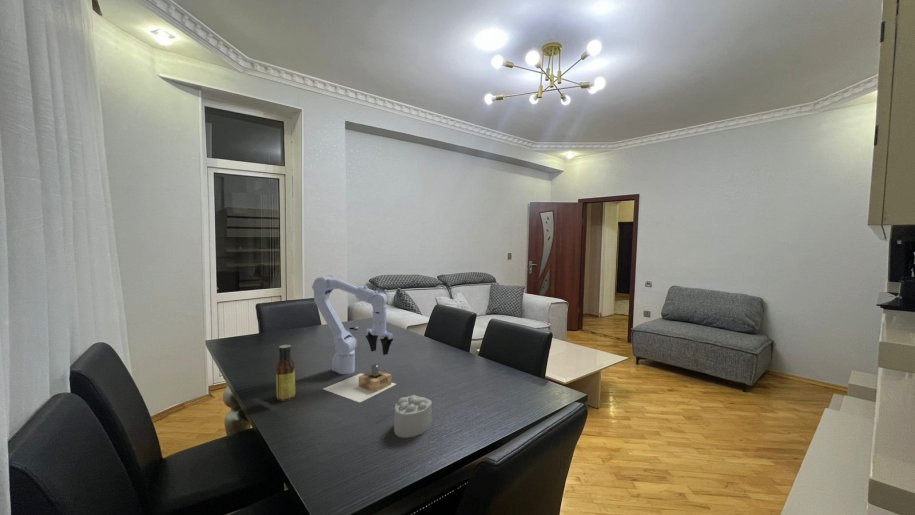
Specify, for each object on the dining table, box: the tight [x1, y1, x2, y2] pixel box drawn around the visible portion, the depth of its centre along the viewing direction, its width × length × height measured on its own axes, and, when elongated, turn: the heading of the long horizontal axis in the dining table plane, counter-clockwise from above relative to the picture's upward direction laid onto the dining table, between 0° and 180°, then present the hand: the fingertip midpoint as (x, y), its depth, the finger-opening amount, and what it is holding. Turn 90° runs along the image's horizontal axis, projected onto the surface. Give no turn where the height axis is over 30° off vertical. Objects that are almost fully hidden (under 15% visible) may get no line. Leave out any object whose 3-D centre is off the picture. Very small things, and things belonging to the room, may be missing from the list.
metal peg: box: [371, 363, 380, 379], centre depth 144 cm, size 3×3×8 cm
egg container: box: [393, 394, 433, 438], centre depth 115 cm, size 10×13×9 cm
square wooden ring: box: [359, 370, 392, 392], centre depth 144 cm, size 9×9×4 cm
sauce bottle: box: [275, 344, 296, 402], centre depth 131 cm, size 7×6×20 cm
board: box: [322, 373, 397, 403], centre depth 142 cm, size 20×20×1 cm
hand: (379, 352), depth 156 cm, fingers open, 7 cm apart
